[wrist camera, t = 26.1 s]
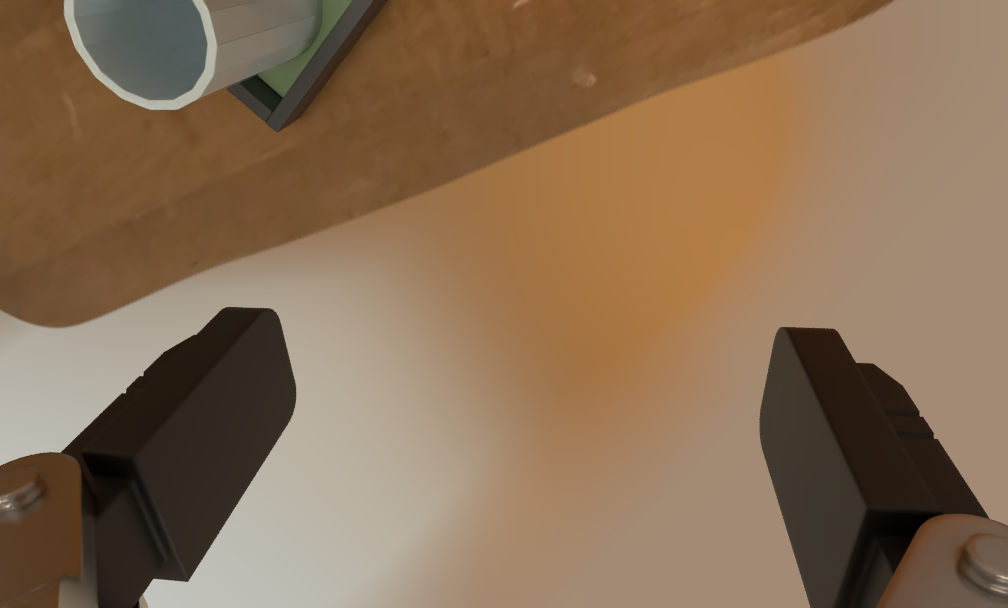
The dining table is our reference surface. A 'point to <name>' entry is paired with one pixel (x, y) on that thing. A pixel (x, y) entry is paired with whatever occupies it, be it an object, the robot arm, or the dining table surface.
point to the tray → (307, 65)
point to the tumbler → (187, 44)
